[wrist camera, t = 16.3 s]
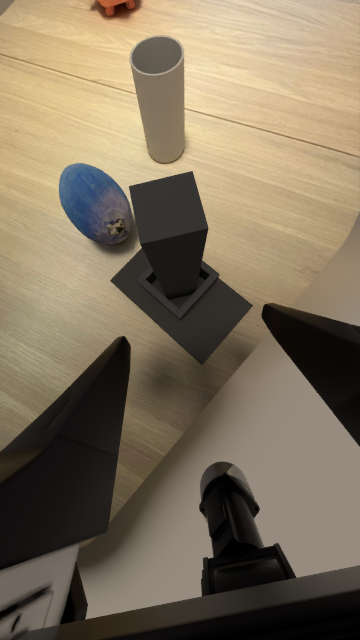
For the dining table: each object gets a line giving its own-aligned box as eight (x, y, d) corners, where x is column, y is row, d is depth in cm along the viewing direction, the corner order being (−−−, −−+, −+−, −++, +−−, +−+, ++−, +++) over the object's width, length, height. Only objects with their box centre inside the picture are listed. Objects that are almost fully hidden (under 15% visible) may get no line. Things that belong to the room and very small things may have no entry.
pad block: (195, 294, 21) (208, 228, 9) (167, 300, 22) (140, 244, 9) (188, 268, 22) (192, 170, 9) (161, 274, 22) (128, 185, 9)
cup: (154, 169, 26) (138, 82, 17) (139, 130, 28) (117, 32, 19) (189, 156, 26) (191, 64, 17) (173, 119, 28) (167, 15, 19)
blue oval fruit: (92, 219, 13) (22, 141, 16) (109, 279, 21) (60, 219, 23) (160, 206, 17) (96, 145, 20) (154, 260, 25) (108, 211, 27)
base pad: (250, 306, 22) (262, 301, 18) (201, 363, 21) (204, 368, 18) (160, 234, 24) (155, 217, 21) (113, 282, 23) (100, 273, 20)
